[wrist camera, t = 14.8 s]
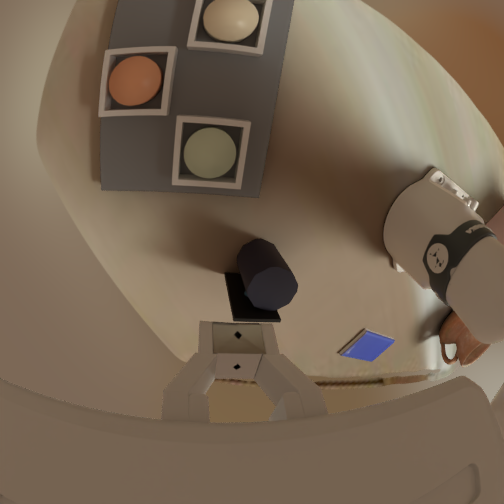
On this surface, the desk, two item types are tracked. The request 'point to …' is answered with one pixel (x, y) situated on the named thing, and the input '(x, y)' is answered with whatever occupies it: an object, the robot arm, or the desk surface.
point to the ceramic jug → (460, 341)
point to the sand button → (230, 20)
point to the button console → (191, 96)
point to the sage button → (209, 152)
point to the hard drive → (367, 345)
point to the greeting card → (498, 225)
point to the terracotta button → (135, 81)
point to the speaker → (260, 283)
